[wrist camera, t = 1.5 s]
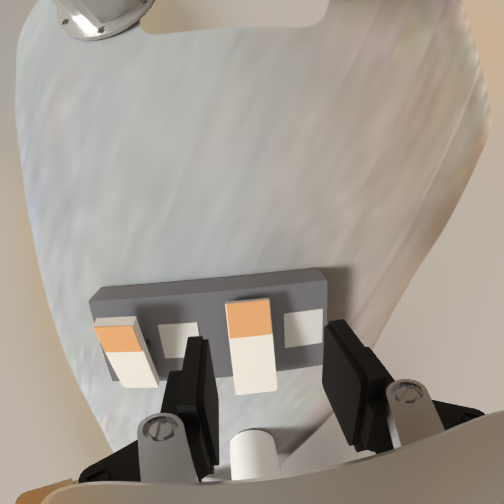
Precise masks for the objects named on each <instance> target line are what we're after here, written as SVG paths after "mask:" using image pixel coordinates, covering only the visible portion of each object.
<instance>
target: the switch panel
mask: <svg viewBox="0 0 504 504" xmlns="http://www.w3.org/2000/svg"><path fill="white" fill-rule="evenodd" d="M327 284H328V280H327V279H326V278H325V277H324V275H323V274H322V273H321V272H320V271H319V270H318V269H317V268H309V269H299V270H290V271H280V272H270V273H261V274H250V275H240V276H230V277H219V278H208V279H197V280H186V281H175V282H163V283H151V284H138V285H126V286H113V287H101V288H100V289H99V290H98V291H97V293H96V294H95V295H94V296H93V297H92V298H91V299H90V300H89V305H90V309H91V313H92V316H93V320H94V323H95V320H96V318H108V317H128V316H136V318H137V321H138V324H139V326H140V329H141V332H142V335H143V337H144V340H145V343H146V346H147V348H148V351H149V354H150V356H151V359H152V361H153V364H154V366H155V369H156V371H157V374H158V376H159V381H164V380H168V375H169V372H170V371H175V370H182V367H183V361H184V356H185V350H186V344H187V339H188V337H193V336H203V339H208V340H209V345H210V351H211V357H212V363H213V369H214V375H215V378H218V377H230V376H233V370H232V362H231V353H230V344H229V336H228V327H227V318H226V309H225V302H230V301H240V300H250V299H260V298H269V299H270V309H271V320H272V331H273V343H274V355H275V367H276V371H284V370H291V369H298V368H305V367H311V366H317V365H323V349H324V327H325V326H326V325H327ZM100 344H101V343H100ZM101 347H102V345H101ZM102 350H103V354H104V357H105V360H106V363H107V366H108V369H109V372H110V374H111V377H112V380H113V381H120V380H119V379H118V377H117V375H116V373H115V371H114V369H113V367H112V365H111V363H110V361H109V359H108V357H107V355H106V353H105V351H104V349H103V347H102Z"/></svg>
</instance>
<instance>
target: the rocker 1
mask: <svg viewBox="0 0 504 504" xmlns="http://www.w3.org/2000/svg"><path fill="white" fill-rule="evenodd" d="M93 328H94V330H95V332H96V334H97V336H98V339H99V341H100V343H101V345H102V347H103V349H104V351H105V353H106V355H107V357H108V359H109V361H110V363H111V365H112V367H113V369H114V371H115V373H116V375H117V377H118V379H119V380H120V382H121V384H122V386H123V388H159V376H158V374H157V371H156V369H155V366H154V364H153V361H152V359H151V356H150V354H149V351H148V348H147V346H146V343H145V340H144V337H143V335H142V332H141V329H140V326H139V324H138V321H137V318H136V316H128V317H108V318H96V320H95V323H94V326H93Z"/></svg>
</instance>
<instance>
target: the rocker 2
mask: <svg viewBox="0 0 504 504" xmlns="http://www.w3.org/2000/svg"><path fill="white" fill-rule="evenodd" d="M225 309H226V318H227V327H228V336H229V344H230V353H231V362H232V370H233V378H234V386H235V394H236V395H242V394H252V393H261V392H269V391H277V379H276V367H275V355H274V343H273V331H272V320H271V309H270V299H269V298H260V299H250V300H240V301H230V302H225Z"/></svg>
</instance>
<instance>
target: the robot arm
mask: <svg viewBox="0 0 504 504" xmlns="http://www.w3.org/2000/svg"><path fill="white" fill-rule="evenodd" d="M51 1H52V2H53V3H54V4H55V5H56V6H58V7H57V19H58V23H59V25H60V27H61V28H62V29H63V30H64V31H65V32H66V33H67V34H68V35H70V36H71V37H73V38H76V39H79V40H86V41H89V40H99V39H104V38H107V37H110V36H113V35H115V34H118V33H120V32H122V31H123V30H125V29H127V28H129V27H130V26H131V25H133V24H134V23H136V22H137V21H138V20H139V19H140V18H142V17H143V16H144V15H145V14H146V12H147V11H148V10H149V9H150V8H151V6H152V5H153V3H154V2H155V0H51ZM322 384H323V388H324V390H325V393H326V395H327V397H328V399H329V402H330V404H331V406H332V408H333V411H334V413H335V415H336V417H337V420H338V422H339V424H340V426H341V429H342V431H343V433H344V435H345V438H346V440H347V442H348V444H349V445H350V446H351V445H354V447H355V450H356V452H360V451H364V450H369V451H372V456H369V457H365V458H361V459H358V460H354V461H350V462H346V463H341V464H337V465H333V466H328V467H324V468H319V469H314V470H308V471H303V472H297V473H291V474H285V475H277V476H270V477H262V478H253V479H243V480H230V481H213V482H202V479H203V478H204V477H205V476H207V475H208V474H214V465H219V402H218V392H217V386H216V381H215V375H214V369H213V363H212V357H211V351H210V345H209V340H208V339H203V336H193V337H188V339H187V344H186V350H185V356H184V361H183V367H182V370H175V371H170V372H169V375H168V380H167V384H166V389H165V393H164V398H163V403H162V407H161V412H160V413H157V414H153V415H151V416H149V417H146V418H145V419H144V420H143V421H141V423H140V424H139V426H138V431H137V434H138V440H136V441H134V442H133V443H131V444H129V445H128V446H126V447H124V448H122V449H120V450H119V451H117V452H115V453H113V454H112V455H110V456H108V457H106V458H104V459H102V460H100V461H99V462H97V463H95V464H93V465H91V466H89V467H88V468H86V469H85V470H84V471H83V472H82V473H81V475H80V477H79V480H76V481H73V480H72V479H68V480H64V481H61V482H58V483H55V484H52V485H48V486H45V487H41V488H38V489H34V490H31V491H27V492H25V493H23V494H21V495H20V496H19V497H18V498H17V500H16V503H15V504H504V410H503V411H498V412H494V413H491V414H486V415H485V414H484V413H483V412H481V411H480V410H477V409H474V408H468V407H463V406H458V405H454V404H449V403H444V402H440V401H435V400H431V398H430V395H429V393H428V391H427V389H426V388H425V386H424V385H422V384H421V383H420V382H417V381H415V380H410V379H401V380H397V381H395V380H394V379H393V378H392V376H391V375H390V374H389V372H388V371H387V370H386V368H385V367H384V366H383V364H382V363H381V362H380V360H379V359H378V358H377V357H376V355H375V354H374V353H373V351H372V350H371V349H370V348H369V347H364V345H363V344H362V343H361V341H360V340H359V339H358V337H357V336H356V335H355V333H354V332H353V331H352V329H351V328H350V327H349V325H348V324H347V323H346V321H345V320H344V319H342V320H335V321H330V322H329V324H328V325H326V326H325V327H324V349H323V373H322Z"/></svg>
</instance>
